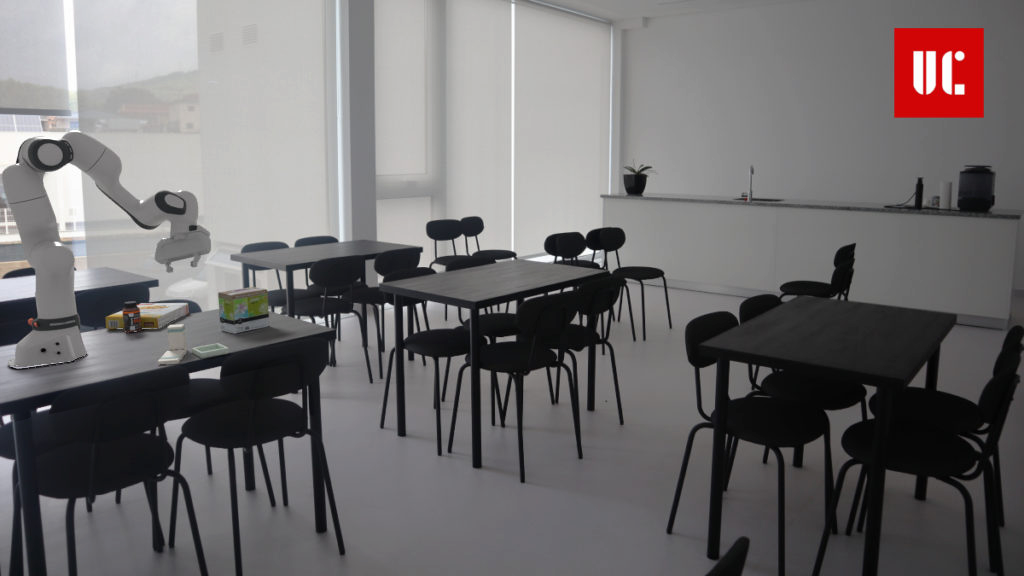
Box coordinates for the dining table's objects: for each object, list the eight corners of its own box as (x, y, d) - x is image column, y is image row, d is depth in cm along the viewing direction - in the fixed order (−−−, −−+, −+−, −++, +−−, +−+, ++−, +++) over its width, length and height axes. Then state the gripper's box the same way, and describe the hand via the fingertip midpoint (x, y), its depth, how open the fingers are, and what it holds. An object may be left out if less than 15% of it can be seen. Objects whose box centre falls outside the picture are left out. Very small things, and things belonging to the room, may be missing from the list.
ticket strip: (157, 365, 244) (157, 360, 244) (167, 354, 257) (167, 350, 257) (178, 363, 245) (177, 359, 245) (186, 352, 258) (186, 348, 258)
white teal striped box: (169, 353, 257) (167, 327, 256) (172, 350, 261) (169, 324, 260) (184, 352, 258) (181, 326, 257) (187, 349, 262) (184, 323, 261)
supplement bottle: (137, 333, 287) (133, 303, 285) (121, 333, 287) (118, 303, 285) (145, 329, 293) (141, 300, 291) (129, 329, 293) (126, 300, 291)
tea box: (235, 334, 282) (232, 294, 280) (220, 331, 288) (216, 292, 286) (270, 326, 294) (267, 288, 291) (254, 323, 300) (251, 285, 297)
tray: (201, 358, 251) (201, 353, 250) (191, 353, 257) (191, 348, 257) (229, 353, 257) (228, 347, 256) (218, 348, 263) (218, 343, 263)
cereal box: (104, 316, 292) (139, 301, 320) (105, 330, 293) (140, 314, 321) (157, 316, 292) (188, 301, 320) (159, 331, 293) (189, 314, 321)
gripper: (152, 236, 274) (149, 271, 268) (203, 224, 270) (202, 259, 265) (163, 243, 279) (161, 278, 274) (214, 232, 276) (212, 267, 270)
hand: (181, 269), depth 269 cm, fingers open, 8 cm apart
